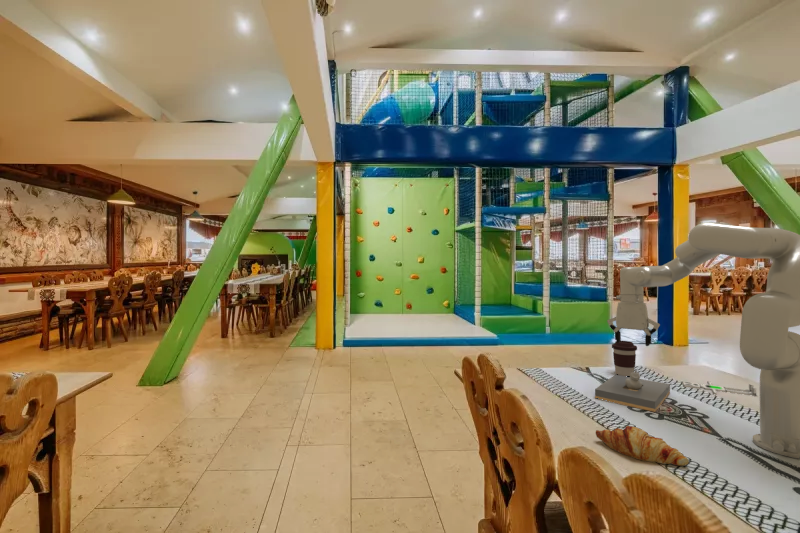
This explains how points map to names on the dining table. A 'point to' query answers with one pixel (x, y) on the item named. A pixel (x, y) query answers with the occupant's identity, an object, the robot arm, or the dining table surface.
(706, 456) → the dining table surface
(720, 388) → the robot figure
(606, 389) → the block
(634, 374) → the rubber duck
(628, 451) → the croissant
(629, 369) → the coffee cup
